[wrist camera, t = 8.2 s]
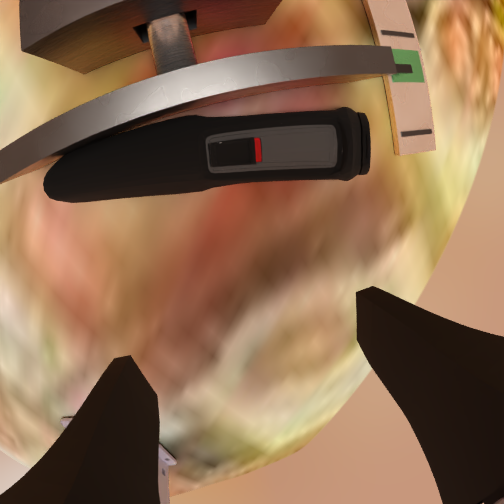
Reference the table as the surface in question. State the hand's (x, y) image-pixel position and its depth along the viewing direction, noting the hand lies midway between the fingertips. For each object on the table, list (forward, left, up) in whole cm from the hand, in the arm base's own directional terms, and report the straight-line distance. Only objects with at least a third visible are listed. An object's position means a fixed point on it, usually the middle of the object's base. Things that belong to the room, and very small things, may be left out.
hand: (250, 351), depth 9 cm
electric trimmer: (+5, -1, -8) cm, 10 cm away
